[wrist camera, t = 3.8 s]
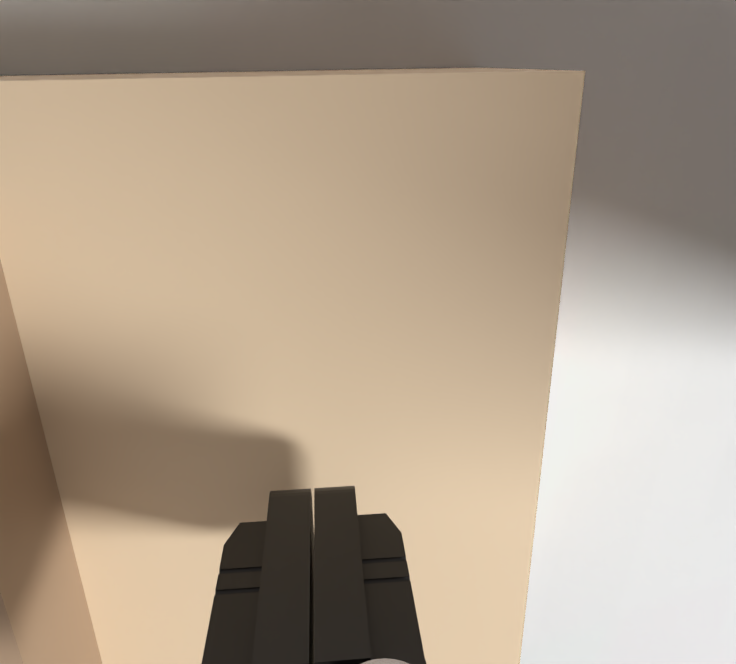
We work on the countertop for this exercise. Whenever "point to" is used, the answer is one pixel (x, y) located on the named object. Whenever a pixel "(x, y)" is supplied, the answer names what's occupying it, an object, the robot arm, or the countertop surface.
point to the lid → (273, 340)
